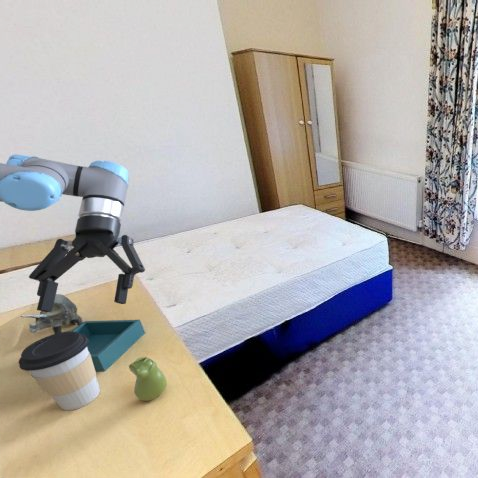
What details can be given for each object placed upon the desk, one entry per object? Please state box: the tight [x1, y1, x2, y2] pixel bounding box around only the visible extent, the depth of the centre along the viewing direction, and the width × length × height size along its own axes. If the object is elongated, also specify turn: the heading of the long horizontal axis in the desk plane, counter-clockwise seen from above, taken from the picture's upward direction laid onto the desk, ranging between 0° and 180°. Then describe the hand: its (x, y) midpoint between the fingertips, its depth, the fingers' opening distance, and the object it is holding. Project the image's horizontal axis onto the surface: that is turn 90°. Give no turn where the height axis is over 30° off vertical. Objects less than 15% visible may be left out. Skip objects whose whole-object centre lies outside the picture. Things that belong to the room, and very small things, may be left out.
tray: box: [71, 319, 146, 373], centre depth 80 cm, size 14×14×5 cm
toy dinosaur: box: [20, 293, 84, 334], centre depth 87 cm, size 22×8×11 cm, turn 42°
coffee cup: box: [18, 330, 101, 411], centre depth 66 cm, size 9×9×15 cm
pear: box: [128, 356, 168, 402], centre depth 68 cm, size 6×5×10 cm
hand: (83, 306), depth 71 cm, fingers open, 13 cm apart
